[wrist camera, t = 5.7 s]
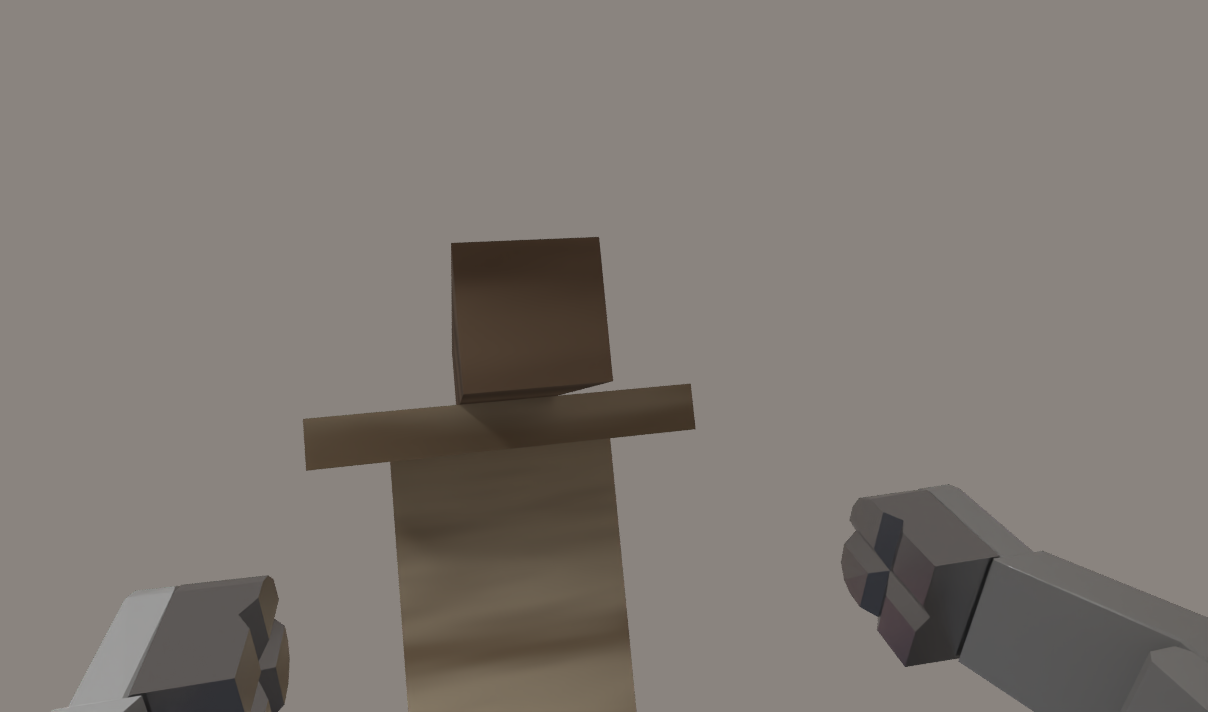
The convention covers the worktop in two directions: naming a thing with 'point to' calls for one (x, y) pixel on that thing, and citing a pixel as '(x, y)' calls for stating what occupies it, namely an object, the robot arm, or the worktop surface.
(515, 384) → the block
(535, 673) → the stand
